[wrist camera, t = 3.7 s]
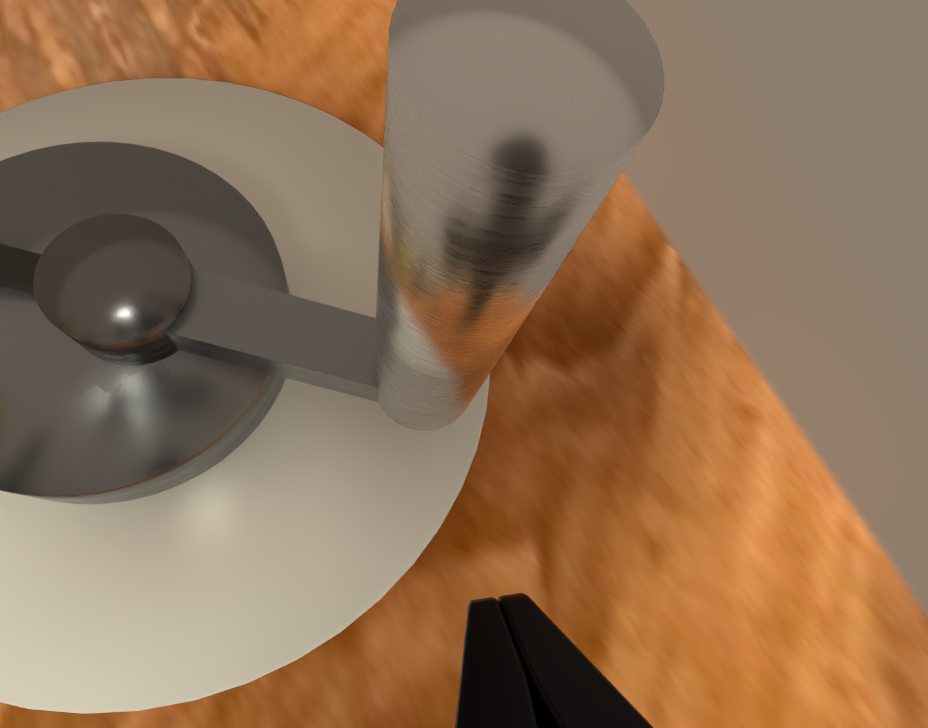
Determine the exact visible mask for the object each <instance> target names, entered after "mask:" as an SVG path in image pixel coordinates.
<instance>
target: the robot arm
mask: <svg viewBox="0 0 928 728" xmlns="http://www.w3.org/2000/svg"><path fill="white" fill-rule="evenodd" d="M455 728H653V727H652V726H651V725H650V723H649V722H648V721H647V720H646V719H645V718H644V717H643V716H642V715H641V714H640V713H639V712H638V711H637V710H636V709H635V708H634V707H633V706H632V705H631V704H630V702H629V701H628V700H627V699H626V698H625V697H624V696H623V695H622V694H621V693H620V692H619V691H618V690H617V689H616V688H615V687H614V686H613V685H612V684H611V683H610V682H609V680H608V679H607V678H606V677H605V676H604V675H603V674H602V673H601V672H600V671H599V670H598V669H597V668H596V667H595V666H594V665H593V664H592V663H591V662H590V661H589V659H588V658H587V657H586V656H585V655H584V654H583V653H582V652H581V651H580V650H579V649H578V648H577V647H576V646H575V645H574V644H573V643H572V642H571V641H570V640H569V638H568V637H567V636H566V635H565V634H564V633H563V632H562V631H561V630H560V629H559V628H558V627H557V626H556V625H555V624H554V623H553V622H552V621H551V620H550V619H549V617H548V616H547V615H546V614H545V613H544V612H543V611H542V610H541V609H540V608H539V607H538V606H537V605H536V604H535V603H534V602H533V601H532V600H531V599H530V598H529V597H528V596H527V595H525V594H523V593H518V594H511V595H505V596H501V597H499V598H498V600H496V599H495V598H492V597H491V598H484V599H477V600H472V601H470V603H469V605H468V613H467V622H466V631H465V640H464V649H463V659H462V668H461V677H460V686H459V695H458V704H457V714H456V723H455Z"/></svg>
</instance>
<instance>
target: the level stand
mask: <svg viewBox="0 0 928 728" xmlns="http://www.w3.org/2000/svg"><path fill="white" fill-rule="evenodd" d="M79 142H117V143H129V144H136V145H141V146H147V147H152V148H157V149H160V150H163V151H166V152H170V153H173V154H176V155H179V156H182V157H184V158H186V159H188V160H191V161H193V162H195V163H198V164H200V165H202V166H203V167H205V168H207V169H208V170H210V171H212V172H214V173H215V174H217V175H219V176H220V177H221V178H223V179H224V180H225V181H226V182H228V183H229V184H230V185H232V186H233V187H234V188H236V189H237V190H238V191H239V192H240V193H241V194H242V195H243V196H244V197H245V198H246V199H247V200H248V201H249V202H250V203H251V205H252V206H253V207H254V208H255V210H256V211H257V212H258V214H259V215H260V216H261V218H262V219H263V220H264V222H265V224H266V226H267V228H268V229H269V231H270V233H271V235H272V237H273V238H274V241H275V244H276V246H277V249H278V252H279V254H280V257H281V260H282V264H283V268H284V272H285V275H286V279H287V283H288V286H289V290H290V294H291V295H293V296H297V297H300V298H304V299H308V300H311V301H315V302H319V303H322V304H326V305H330V306H333V307H337V308H341V309H344V310H348V311H352V312H355V313H359V314H363V315H367V316H370V317H374V318H376V302H377V281H378V260H379V238H380V217H381V196H382V175H383V154H384V148H383V147H382V146H380V145H379V144H378V143H376V142H375V141H374V140H372V139H371V138H369V137H368V136H367V135H365V134H364V133H362V132H361V131H359V130H357V129H355V128H354V127H352V126H350V125H348V124H347V123H345V122H343V121H341V120H340V119H338V118H336V117H335V116H333V115H330V114H328V113H326V112H324V111H321V110H319V109H317V108H314V107H312V106H310V105H308V104H305V103H303V102H301V101H298V100H295V99H291V98H288V97H285V96H282V95H279V94H276V93H272V92H269V91H266V90H262V89H257V88H252V87H248V86H243V85H238V84H233V83H228V82H219V81H209V80H200V79H190V78H147V79H136V80H125V81H114V82H106V83H101V84H96V85H91V86H86V87H80V88H75V89H70V90H66V91H63V92H59V93H56V94H52V95H49V96H46V97H42V98H39V99H35V100H32V101H29V102H26V103H23V104H21V105H18V106H16V107H14V108H11V109H9V110H6V111H4V112H1V113H0V161H2V160H4V159H7V158H10V157H13V156H16V155H19V154H22V153H25V152H29V151H32V150H36V149H41V148H45V147H50V146H55V145H61V144H70V143H79ZM489 381H490V374H489V375H488V377H487V378H486V380H485V381H484V383H483V384H482V386H481V387H480V389H479V390H478V392H477V393H476V395H475V397H474V398H473V400H472V401H471V403H470V404H469V406H468V407H467V409H466V410H465V411H464V413H463V414H462V415H461V416H460V417H459V418H458V419H457V420H456V421H454V422H453V423H451V424H449V425H448V426H446V427H443V428H440V429H436V430H431V431H418V430H412V429H409V428H406V427H404V426H401V425H399V424H398V423H396V422H394V421H393V420H392V419H391V418H389V417H388V416H387V415H386V414H385V413H384V411H383V410H382V409H381V407H380V405H379V404H378V402H376V401H372V400H368V399H365V398H361V397H357V396H353V395H349V394H345V393H342V392H338V391H334V390H330V389H326V388H322V387H319V386H315V385H311V384H307V383H303V382H299V381H296V380H292V379H288V378H285V381H284V384H283V386H282V389H281V391H280V392H279V394H278V396H277V398H276V400H275V402H274V404H273V405H272V407H271V409H270V410H269V412H268V413H267V414H266V416H265V417H264V419H263V420H262V421H261V423H260V424H259V426H258V427H257V428H256V429H255V430H254V431H253V432H252V433H251V434H250V436H249V437H248V438H247V439H246V440H245V441H244V442H243V443H242V444H241V445H240V446H239V447H238V448H236V449H235V450H234V451H233V452H232V453H230V454H229V455H228V456H227V457H226V458H225V459H223V460H222V461H220V462H219V463H217V464H216V465H214V466H213V467H211V468H210V469H208V470H207V471H205V472H204V473H202V474H201V475H199V476H197V477H195V478H193V479H191V480H189V481H187V482H185V483H183V484H181V485H179V486H176V487H173V488H171V489H168V490H165V491H163V492H160V493H157V494H155V495H151V496H146V497H142V498H138V499H134V500H130V501H123V502H115V503H107V504H72V503H64V502H56V501H49V500H44V499H39V498H34V497H29V496H24V495H19V494H14V493H10V492H5V491H0V702H1V703H6V704H10V705H14V706H18V707H23V708H27V709H36V710H48V711H59V712H71V713H82V714H86V713H105V712H124V711H141V710H146V709H152V708H157V707H162V706H168V705H173V704H178V703H183V702H189V701H194V700H198V699H201V698H204V697H207V696H210V695H213V694H216V693H219V692H222V691H225V690H228V689H231V688H234V687H237V686H241V685H244V684H247V683H249V682H251V681H253V680H256V679H258V678H260V677H262V676H264V675H266V674H268V673H270V672H272V671H275V670H277V669H279V668H281V667H283V666H285V665H287V664H289V663H291V662H294V661H296V660H298V659H299V658H301V657H302V656H304V655H305V654H307V653H309V652H310V651H312V650H313V649H315V648H316V647H318V646H320V645H321V644H323V643H324V642H326V641H327V640H329V639H331V638H332V637H334V636H335V635H337V634H338V633H340V632H342V631H343V630H344V629H345V628H346V627H348V626H349V625H350V624H351V623H352V622H354V621H355V620H356V619H357V618H358V617H360V616H361V615H362V614H363V613H365V612H366V611H367V610H368V609H369V608H371V607H372V606H373V605H374V604H375V603H377V602H378V601H379V600H380V599H381V598H382V597H383V596H384V595H385V594H386V593H387V592H388V591H389V590H390V589H391V588H392V587H393V585H394V584H395V583H396V582H397V581H398V580H399V579H400V578H401V577H402V576H403V575H404V574H405V573H406V572H407V571H408V570H409V568H410V567H411V566H412V565H413V564H414V563H415V561H416V560H417V559H418V557H419V556H420V555H421V553H422V552H423V550H424V549H425V548H426V546H427V545H428V544H429V542H430V541H431V539H432V538H433V537H434V535H435V534H436V533H437V531H438V530H439V528H440V527H441V525H442V524H443V522H444V520H445V518H446V516H447V514H448V513H449V511H450V509H451V507H452V505H453V503H454V502H455V500H456V498H457V496H458V494H459V492H460V491H461V489H462V486H463V484H464V481H465V479H466V476H467V474H468V471H469V468H470V466H471V463H472V461H473V458H474V456H475V453H476V450H477V447H478V443H479V439H480V435H481V431H482V426H483V422H484V418H485V414H486V410H487V400H488V391H489Z"/></svg>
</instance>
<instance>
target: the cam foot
mask: <svg viewBox="0 0 928 728" xmlns="http://www.w3.org/2000/svg"><path fill="white" fill-rule="evenodd" d="M663 93H664V72H663V66H662V60H661V57H660V54H659V50H658V47H657V45H656V43H655V41H654V39H653V37H652V34H651V33H650V31H649V29H648V28H647V26H646V24H645V23H644V21H643V20H642V19H641V17H640V16H639V15H638V13H637V12H636V11H635V10H634V8H633V7H631V5H630V4H629V3H628V2H627V1H626V0H398V1H397V4H396V6H395V9H394V11H393V14H392V18H391V23H390V28H389V49H388V70H387V91H386V112H385V133H384V154H383V175H382V196H381V217H380V238H379V260H378V281H377V302H376V318H374V317H370V316H367V315H363V314H359V313H355V312H352V311H348V310H344V309H341V308H337V307H333V306H330V305H326V304H322V303H319V302H315V301H311V300H308V299H304V298H300V297H297V296H293V295H291V294H290V290H289V286H288V283H287V279H286V275H285V272H284V268H283V264H282V260H281V257H280V254H279V252H278V249H277V246H276V244H275V241H274V238H273V237H272V235H271V233H270V231H269V229H268V228H267V226H266V224H265V222H264V220H263V219H262V218H261V216H260V215H259V214H258V212H257V211H256V210H255V208H254V207H253V206H252V205H251V203H250V202H249V201H248V200H247V199H246V198H245V197H244V196H243V195H242V194H241V193H240V192H239V191H238V190H237V189H236V188H234V187H233V186H232V185H230V184H229V183H228V182H226V181H225V180H224V179H223V178H221V177H220V176H219V175H217V174H215V173H214V172H212V171H210V170H208V169H207V168H205V167H203V166H202V165H200V164H198V163H195V162H193V161H191V160H188V159H186V158H184V157H182V156H179V155H176V154H173V153H170V152H166V151H163V150H160V149H157V148H152V147H147V146H141V145H136V144H129V143H117V142H79V143H70V144H61V145H55V146H50V147H45V148H41V149H36V150H32V151H29V152H25V153H22V154H19V155H16V156H13V157H10V158H7V159H4V160H2V161H0V491H5V492H10V493H14V494H19V495H24V496H29V497H34V498H39V499H44V500H49V501H56V502H64V503H72V504H107V503H115V502H123V501H130V500H134V499H138V498H142V497H146V496H151V495H155V494H157V493H160V492H163V491H165V490H168V489H171V488H173V487H176V486H179V485H181V484H183V483H185V482H187V481H189V480H191V479H193V478H195V477H197V476H199V475H201V474H202V473H204V472H205V471H207V470H208V469H210V468H211V467H213V466H214V465H216V464H217V463H219V462H220V461H222V460H223V459H225V458H226V457H227V456H228V455H229V454H230V453H232V452H233V451H234V450H235V449H236V448H238V447H239V446H240V445H241V444H242V443H243V442H244V441H245V440H246V439H247V438H248V437H249V436H250V434H251V433H252V432H253V431H254V430H255V429H256V428H257V427H258V426H259V424H260V423H261V421H262V420H263V419H264V417H265V416H266V414H267V413H268V412H269V410H270V409H271V407H272V405H273V404H274V402H275V400H276V398H277V396H278V394H279V392H280V391H281V389H282V386H283V384H284V381H285V378H288V379H292V380H296V381H299V382H303V383H307V384H311V385H315V386H319V387H322V388H326V389H330V390H334V391H338V392H342V393H345V394H349V395H353V396H357V397H361V398H365V399H368V400H372V401H376V402H378V404H379V405H380V407H381V409H382V410H383V411H384V413H385V414H386V415H387V416H388V417H389V418H391V419H392V420H393V421H394V422H396V423H398V424H399V425H401V426H404V427H406V428H409V429H412V430H418V431H431V430H436V429H440V428H443V427H446V426H448V425H449V424H451V423H453V422H454V421H456V420H457V419H458V418H459V417H460V416H461V415H462V414H463V413H464V411H465V410H466V409H467V407H468V406H469V404H470V403H471V401H472V400H473V398H474V397H475V395H476V393H477V392H478V390H479V389H480V387H481V386H482V384H483V383H484V381H485V380H486V378H487V377H488V375H489V374H490V372H491V371H492V369H493V368H494V366H495V365H496V363H497V361H498V360H499V358H500V357H501V355H502V354H503V352H504V351H505V349H506V348H507V346H508V345H509V343H510V342H511V340H512V339H513V337H514V336H515V334H516V333H517V331H518V329H519V328H520V326H521V325H522V323H523V322H524V320H525V319H526V317H527V316H528V314H529V313H530V311H531V310H532V308H533V307H534V305H535V304H536V302H537V301H538V299H539V297H540V296H541V294H542V293H543V291H544V290H545V288H546V287H547V285H548V284H549V282H550V281H551V279H552V278H553V276H554V275H555V273H556V272H557V270H558V269H559V267H560V265H561V264H562V262H563V261H564V259H565V258H566V256H567V255H568V253H569V252H570V250H571V249H572V247H573V246H574V244H575V243H576V241H577V240H578V238H579V237H580V235H581V233H582V232H583V230H584V229H585V227H586V226H587V224H588V223H589V221H590V220H591V218H592V217H593V215H594V214H595V212H596V211H597V209H598V208H599V206H600V205H601V203H602V201H603V200H604V198H605V197H606V195H607V194H608V192H609V191H610V189H611V188H612V186H613V185H614V183H615V182H616V180H617V179H618V177H619V176H620V174H621V173H622V171H623V169H624V168H625V166H626V165H627V163H628V162H629V160H630V159H631V157H632V156H633V154H634V153H635V151H636V150H637V148H638V147H639V145H640V144H641V142H642V141H643V139H644V137H645V136H646V134H647V133H648V131H649V130H650V128H651V127H652V125H653V123H654V121H655V119H656V118H657V115H658V113H659V110H660V107H661V104H662V99H663Z"/></svg>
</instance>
